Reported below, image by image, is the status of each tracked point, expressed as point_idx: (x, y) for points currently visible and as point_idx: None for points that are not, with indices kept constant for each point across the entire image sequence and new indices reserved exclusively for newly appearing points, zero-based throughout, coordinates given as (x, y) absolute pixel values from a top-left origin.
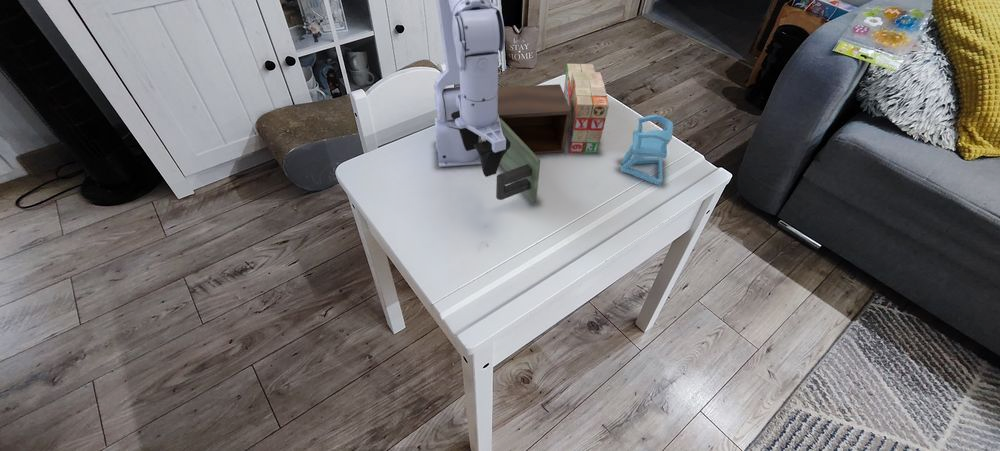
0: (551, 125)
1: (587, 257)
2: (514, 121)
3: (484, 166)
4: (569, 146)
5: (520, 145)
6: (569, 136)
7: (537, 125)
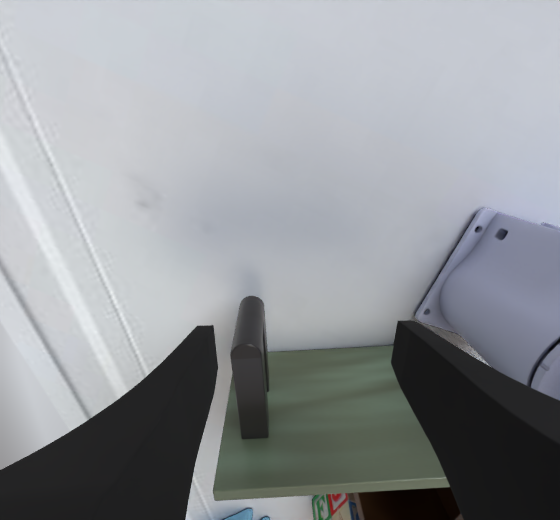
0: None
1: (52, 375)
2: None
3: (153, 371)
4: None
5: (321, 478)
6: None
7: None
